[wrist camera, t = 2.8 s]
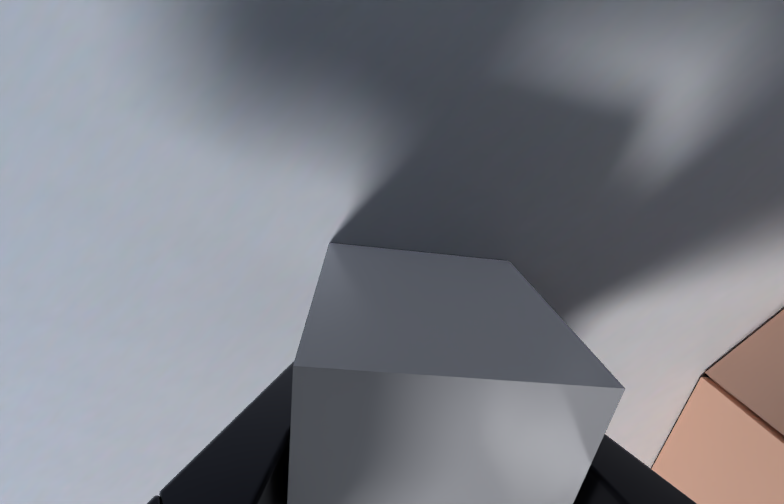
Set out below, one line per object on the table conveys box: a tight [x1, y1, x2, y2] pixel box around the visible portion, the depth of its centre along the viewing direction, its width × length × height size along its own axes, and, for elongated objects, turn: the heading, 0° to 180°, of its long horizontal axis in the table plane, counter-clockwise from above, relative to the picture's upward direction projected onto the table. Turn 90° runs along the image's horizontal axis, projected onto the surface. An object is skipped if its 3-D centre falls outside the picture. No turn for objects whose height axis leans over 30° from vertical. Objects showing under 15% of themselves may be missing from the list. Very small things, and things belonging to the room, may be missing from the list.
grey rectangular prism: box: [287, 243, 625, 504], centre depth 7 cm, size 4×5×4 cm
